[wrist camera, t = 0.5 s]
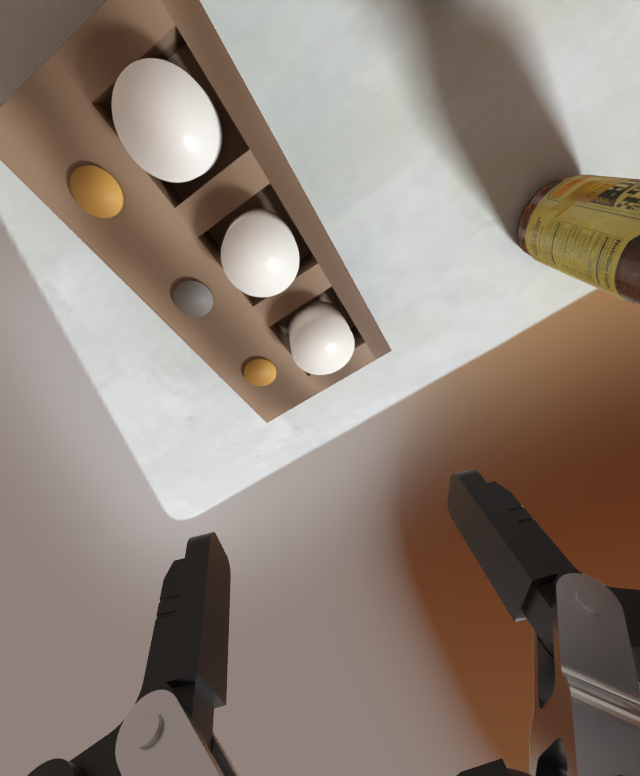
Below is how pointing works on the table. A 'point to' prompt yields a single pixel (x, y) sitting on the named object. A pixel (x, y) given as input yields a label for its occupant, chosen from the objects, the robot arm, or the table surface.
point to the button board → (181, 199)
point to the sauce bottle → (588, 231)
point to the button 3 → (320, 338)
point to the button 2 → (260, 253)
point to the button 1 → (166, 120)
